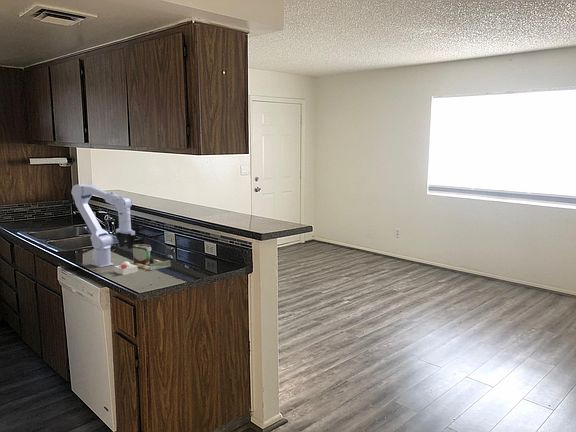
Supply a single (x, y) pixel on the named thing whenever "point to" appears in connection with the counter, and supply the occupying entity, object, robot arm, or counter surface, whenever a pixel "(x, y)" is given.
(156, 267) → the bracket
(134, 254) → the food container
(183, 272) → the counter surface
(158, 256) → the counter surface
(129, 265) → the dome
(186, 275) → the counter surface
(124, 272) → the dome housing
